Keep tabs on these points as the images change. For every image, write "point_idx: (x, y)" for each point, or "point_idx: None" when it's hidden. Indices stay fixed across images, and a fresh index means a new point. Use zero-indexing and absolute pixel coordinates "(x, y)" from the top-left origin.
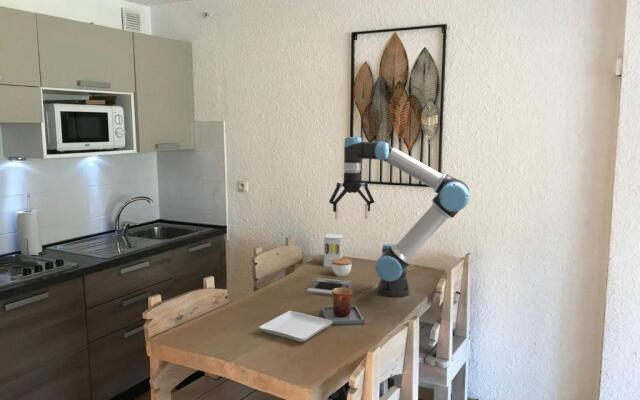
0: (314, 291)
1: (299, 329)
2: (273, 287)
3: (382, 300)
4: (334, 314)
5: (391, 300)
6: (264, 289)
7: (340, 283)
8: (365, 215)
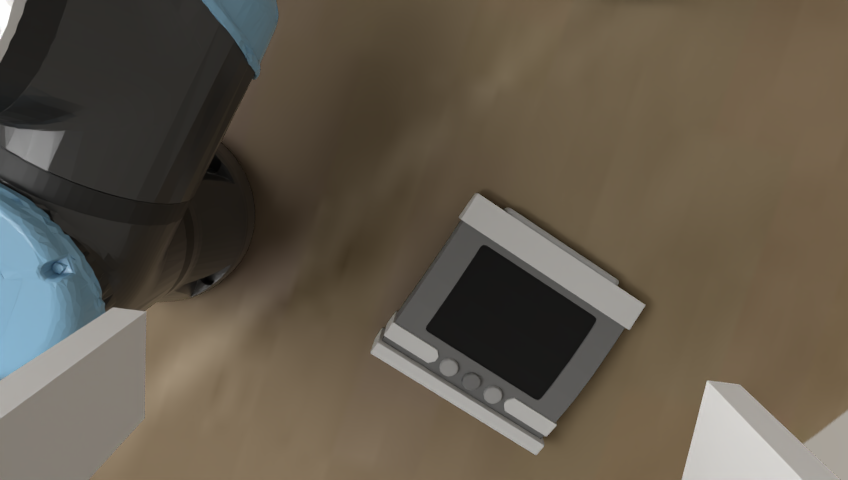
0: (608, 280)
1: None
2: None
3: (270, 87)
4: None
5: None
6: (837, 407)
7: (436, 347)
8: (113, 391)
